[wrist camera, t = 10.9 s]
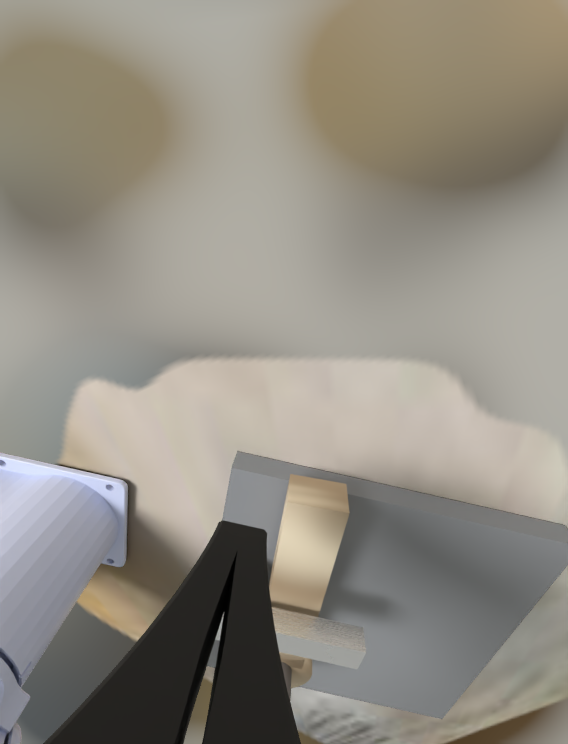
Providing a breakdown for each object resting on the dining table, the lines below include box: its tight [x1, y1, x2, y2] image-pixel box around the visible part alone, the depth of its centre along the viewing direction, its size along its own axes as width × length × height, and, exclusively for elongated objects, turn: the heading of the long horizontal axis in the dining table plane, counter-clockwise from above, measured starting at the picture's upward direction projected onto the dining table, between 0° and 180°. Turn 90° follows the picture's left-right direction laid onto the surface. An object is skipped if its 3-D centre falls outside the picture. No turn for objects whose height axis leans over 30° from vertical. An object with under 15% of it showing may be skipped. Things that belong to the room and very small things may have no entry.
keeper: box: [215, 607, 366, 669], centre depth 20 cm, size 8×2×4 cm, turn 78°
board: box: [207, 451, 568, 719], centre depth 23 cm, size 20×20×2 cm
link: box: [269, 474, 350, 699], centre depth 19 cm, size 16×4×4 cm, turn 172°
